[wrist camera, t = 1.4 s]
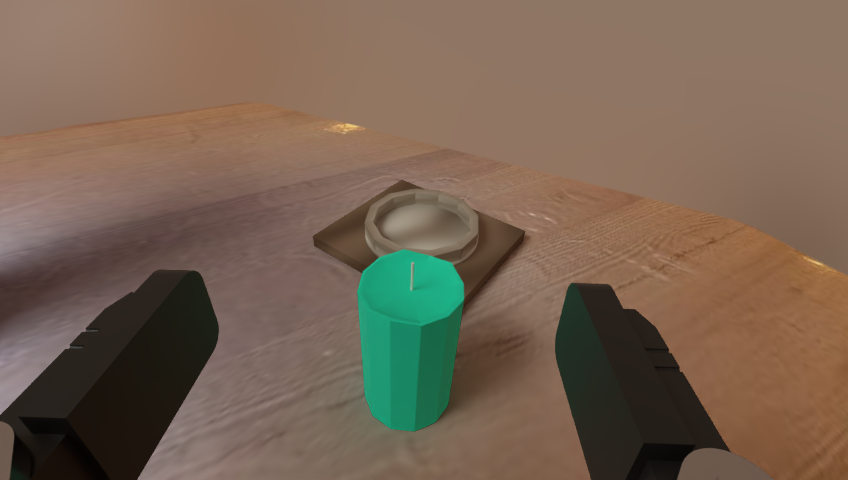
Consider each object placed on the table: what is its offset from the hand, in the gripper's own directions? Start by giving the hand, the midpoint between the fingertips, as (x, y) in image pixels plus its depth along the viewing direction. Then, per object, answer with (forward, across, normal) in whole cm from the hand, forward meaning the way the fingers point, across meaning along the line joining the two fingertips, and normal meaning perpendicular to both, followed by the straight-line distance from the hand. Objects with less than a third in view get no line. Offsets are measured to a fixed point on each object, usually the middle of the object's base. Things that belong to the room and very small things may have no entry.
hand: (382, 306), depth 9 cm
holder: (+29, 0, +17) cm, 33 cm away
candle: (+12, 0, +19) cm, 23 cm away
